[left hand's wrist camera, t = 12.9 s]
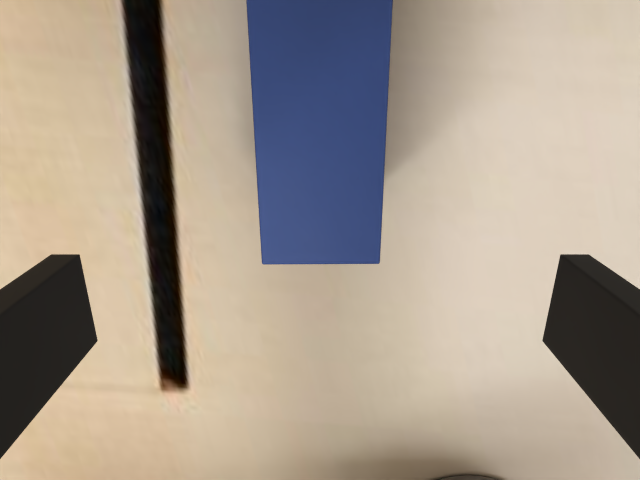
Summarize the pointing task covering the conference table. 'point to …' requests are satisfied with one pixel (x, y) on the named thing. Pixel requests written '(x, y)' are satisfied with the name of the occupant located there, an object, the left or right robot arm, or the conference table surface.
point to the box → (320, 127)
